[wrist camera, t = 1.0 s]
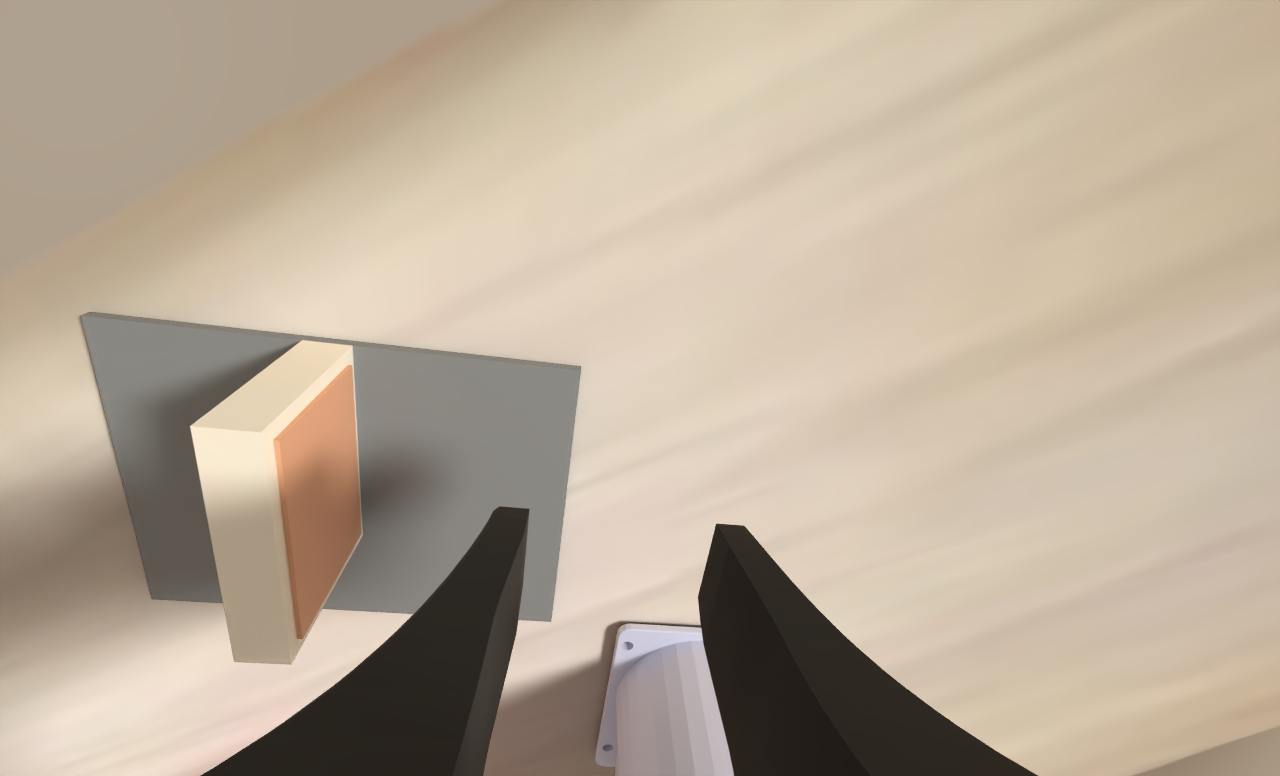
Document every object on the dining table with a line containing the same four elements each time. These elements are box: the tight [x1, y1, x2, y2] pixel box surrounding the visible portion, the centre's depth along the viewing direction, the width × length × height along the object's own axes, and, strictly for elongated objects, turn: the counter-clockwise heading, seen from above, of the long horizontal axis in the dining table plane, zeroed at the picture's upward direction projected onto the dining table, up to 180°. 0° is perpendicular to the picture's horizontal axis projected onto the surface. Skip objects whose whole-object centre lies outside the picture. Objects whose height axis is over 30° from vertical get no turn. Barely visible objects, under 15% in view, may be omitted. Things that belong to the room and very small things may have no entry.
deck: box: [190, 340, 363, 664], centre depth 19 cm, size 8×2×6 cm, turn 171°
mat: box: [81, 312, 581, 622], centre depth 22 cm, size 12×16×1 cm
